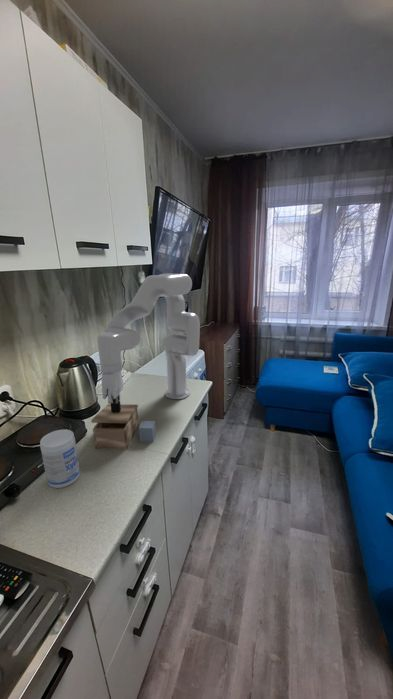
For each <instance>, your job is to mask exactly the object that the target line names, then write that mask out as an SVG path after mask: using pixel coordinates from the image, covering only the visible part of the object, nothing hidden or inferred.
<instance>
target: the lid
mask: <svg viewBox="0 0 393 699" xmlns="http://www.w3.org/2000/svg"><path fill="white" fill-rule="evenodd" d="M120 406H121V411H120V412H111V404H110V403H107V405H106V406H104V408H102V409H101V410H100V411H99V412H98V413H97V414H96V415H95V416H94V417H93V418H92V419H91V420H90V422H91V424H97V423H126V422H127V421H128V420H129V418H130V417H131V416H132V414H133V413H134V412H135V410H136V409H137V410H138V407H139V404H133V403H132V404H129V403H128V404H127V403H126V404H125V403H123V404H122V403H120Z"/></svg>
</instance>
